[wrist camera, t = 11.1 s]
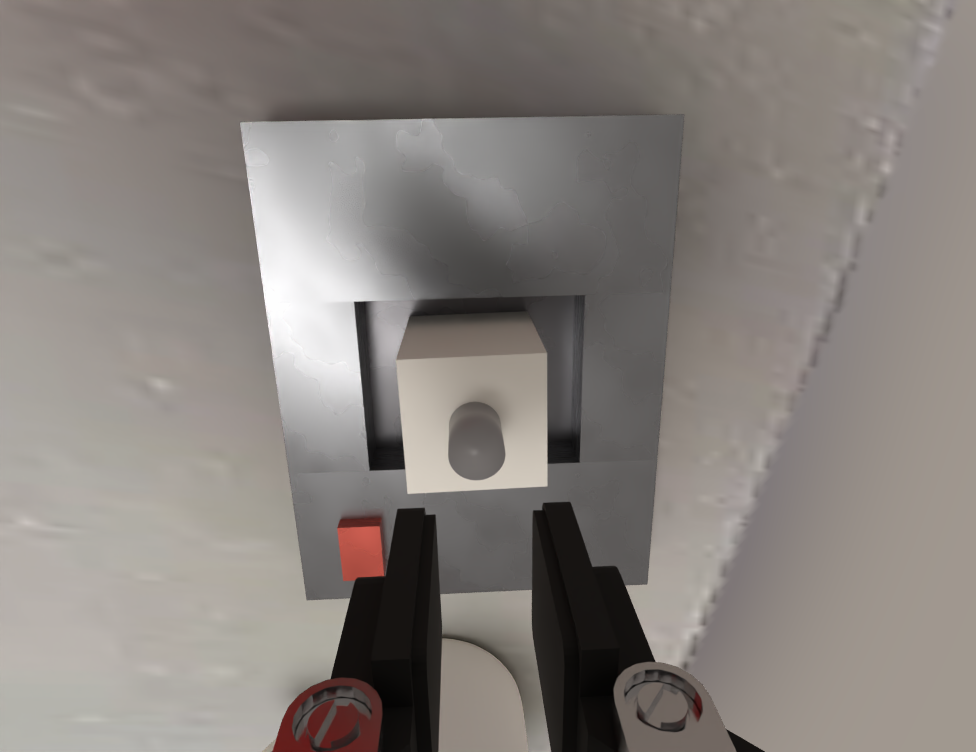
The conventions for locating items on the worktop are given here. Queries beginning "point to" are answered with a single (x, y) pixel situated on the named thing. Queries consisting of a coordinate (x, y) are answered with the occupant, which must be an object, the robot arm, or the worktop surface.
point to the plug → (473, 402)
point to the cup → (476, 703)
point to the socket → (466, 290)
